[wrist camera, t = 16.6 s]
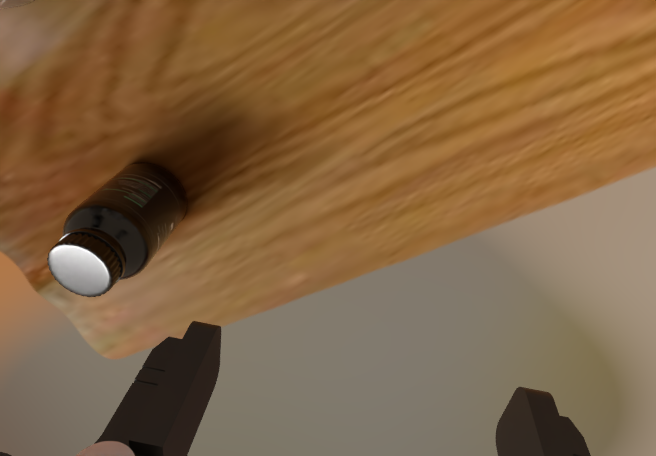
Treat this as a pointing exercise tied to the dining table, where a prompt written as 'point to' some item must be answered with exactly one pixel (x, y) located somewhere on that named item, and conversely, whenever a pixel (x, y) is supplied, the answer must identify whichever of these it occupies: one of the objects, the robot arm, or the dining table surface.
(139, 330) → the dining table surface
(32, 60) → the dining table surface
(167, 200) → the supplement bottle
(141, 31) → the dining table surface
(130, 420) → the robot arm
